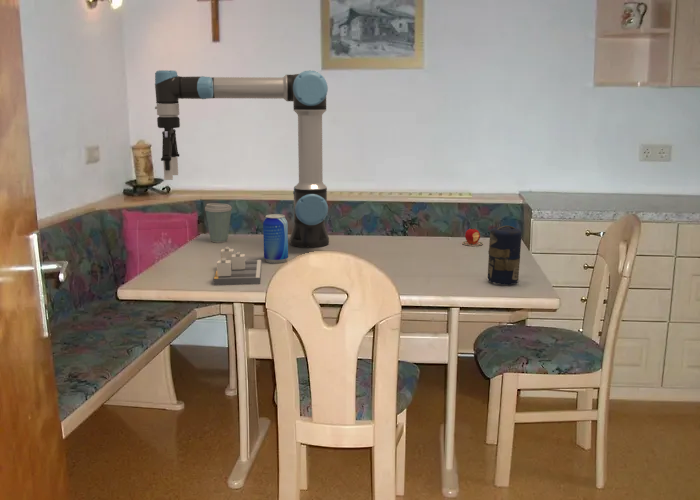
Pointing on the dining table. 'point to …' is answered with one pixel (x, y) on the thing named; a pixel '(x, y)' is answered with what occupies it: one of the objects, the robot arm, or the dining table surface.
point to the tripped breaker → (238, 261)
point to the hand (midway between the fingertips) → (171, 177)
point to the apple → (472, 238)
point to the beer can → (275, 238)
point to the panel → (236, 271)
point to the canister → (504, 255)
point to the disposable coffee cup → (218, 221)
